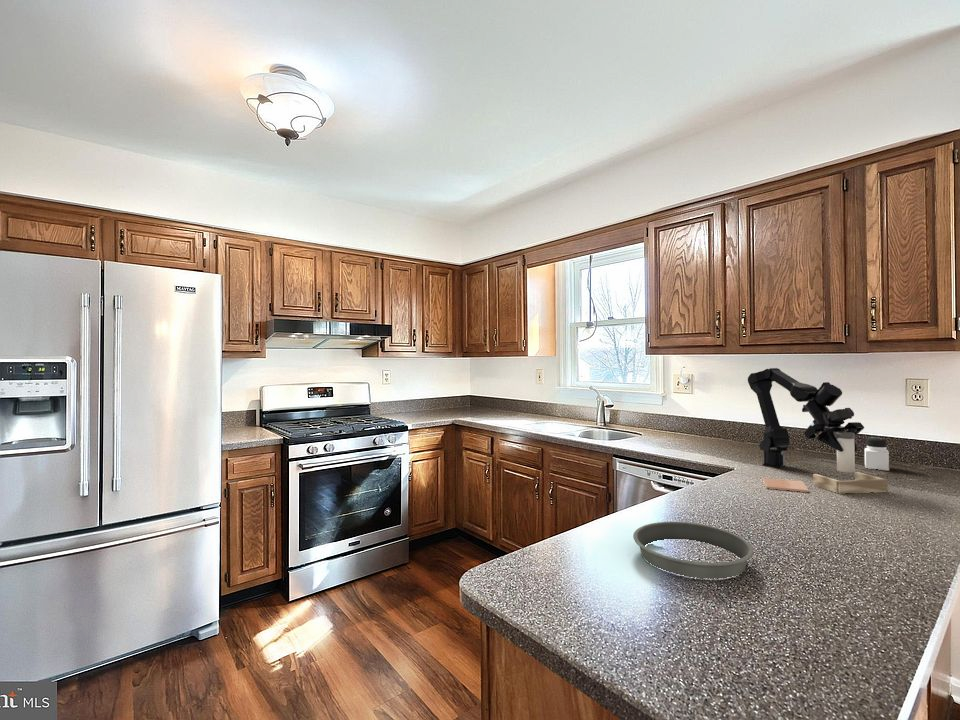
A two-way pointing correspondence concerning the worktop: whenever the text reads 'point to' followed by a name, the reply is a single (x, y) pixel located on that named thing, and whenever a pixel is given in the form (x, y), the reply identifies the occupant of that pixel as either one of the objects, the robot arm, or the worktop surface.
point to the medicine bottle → (877, 454)
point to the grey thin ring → (699, 534)
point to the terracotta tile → (785, 485)
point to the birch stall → (852, 484)
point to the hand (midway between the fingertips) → (849, 450)
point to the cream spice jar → (846, 452)
